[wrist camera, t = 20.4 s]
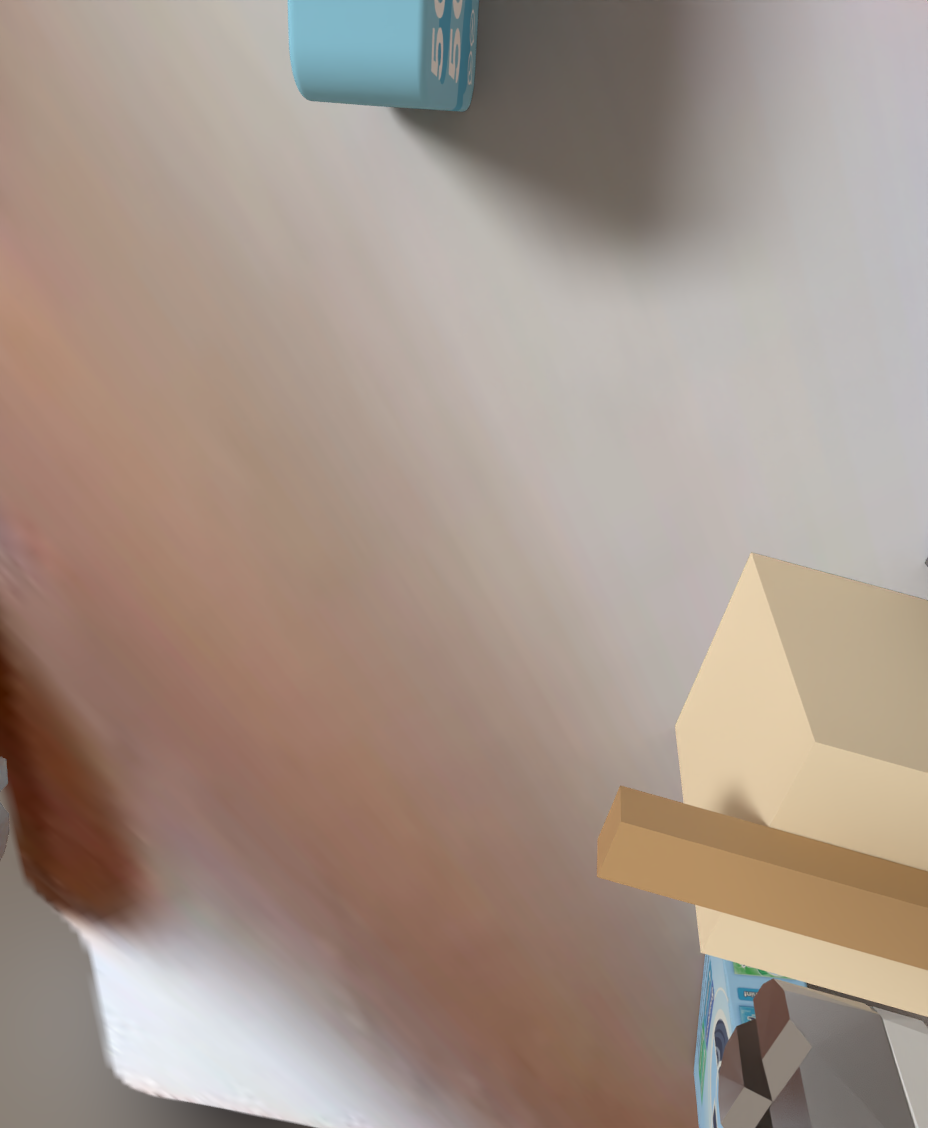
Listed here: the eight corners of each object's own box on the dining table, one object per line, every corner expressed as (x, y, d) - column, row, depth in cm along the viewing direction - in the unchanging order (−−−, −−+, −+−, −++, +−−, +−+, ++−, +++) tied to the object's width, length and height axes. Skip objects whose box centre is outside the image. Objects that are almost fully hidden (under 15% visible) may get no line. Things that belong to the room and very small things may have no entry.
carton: (675, 726, 52) (700, 953, 38) (751, 552, 46) (815, 742, 32) (938, 799, 51) (1064, 1056, 37) (1047, 632, 46) (1245, 861, 32)
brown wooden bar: (597, 839, 35) (597, 877, 34) (620, 785, 34) (621, 821, 32) (1126, 988, 35) (1154, 1034, 33) (1172, 940, 34) (1203, 985, 32)
